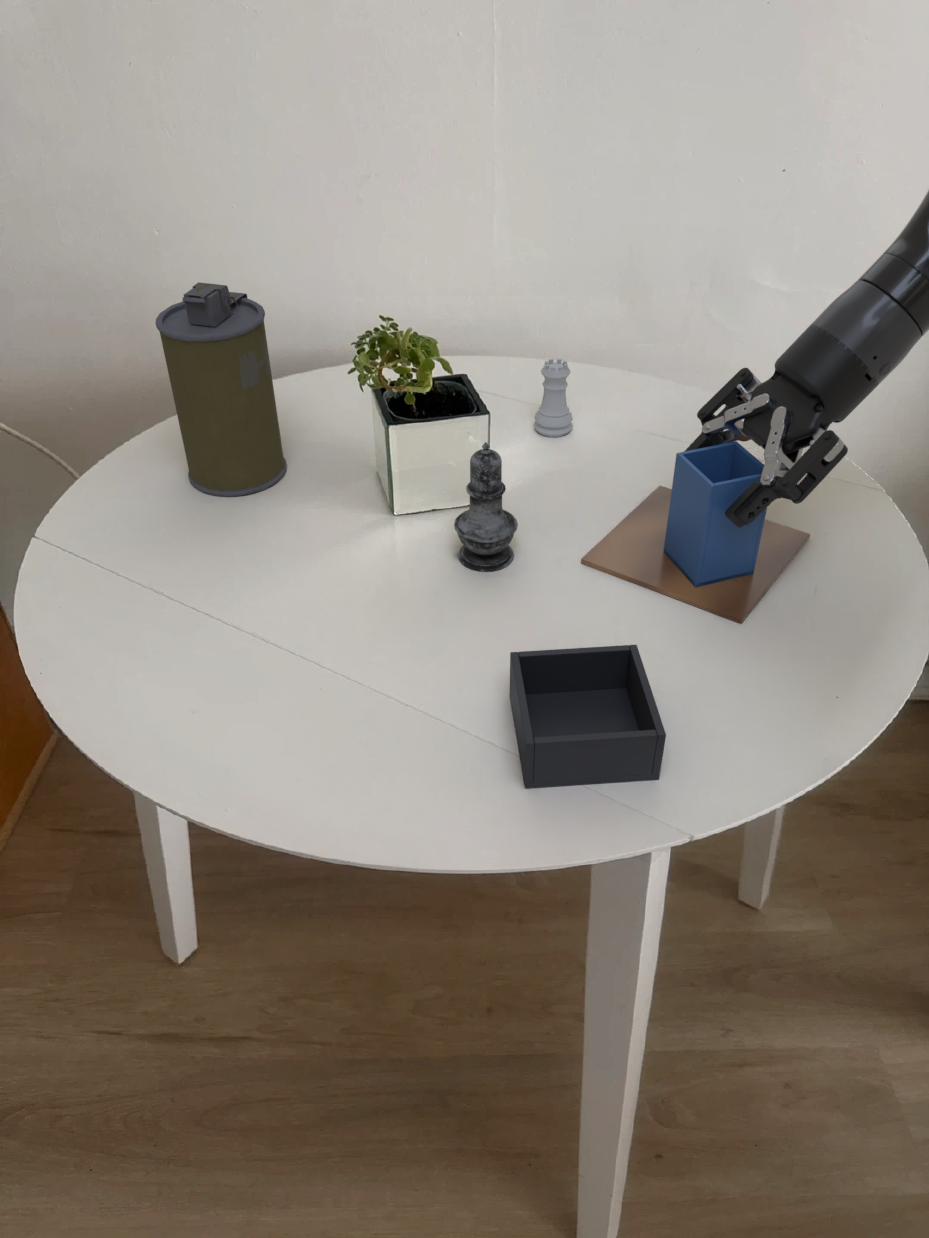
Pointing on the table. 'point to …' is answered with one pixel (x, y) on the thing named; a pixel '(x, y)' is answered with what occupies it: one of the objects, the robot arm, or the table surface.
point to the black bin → (584, 716)
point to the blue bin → (712, 514)
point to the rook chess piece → (554, 401)
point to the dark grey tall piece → (485, 516)
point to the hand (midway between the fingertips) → (706, 496)
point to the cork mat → (643, 562)
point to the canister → (223, 390)
